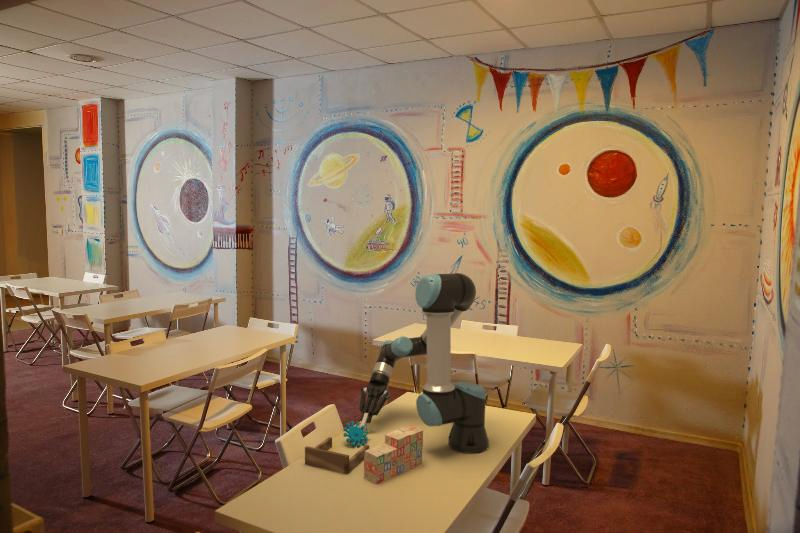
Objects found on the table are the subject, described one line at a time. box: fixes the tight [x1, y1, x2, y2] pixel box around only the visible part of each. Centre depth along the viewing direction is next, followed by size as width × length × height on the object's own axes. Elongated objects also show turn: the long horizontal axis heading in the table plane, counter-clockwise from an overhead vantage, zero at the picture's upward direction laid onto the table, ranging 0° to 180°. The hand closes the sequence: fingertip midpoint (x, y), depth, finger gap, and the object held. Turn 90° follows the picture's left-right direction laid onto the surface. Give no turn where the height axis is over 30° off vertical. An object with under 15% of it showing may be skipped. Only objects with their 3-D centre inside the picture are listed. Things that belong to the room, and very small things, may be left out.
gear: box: [342, 420, 370, 448], centre depth 201 cm, size 11×6×10 cm
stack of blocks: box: [363, 425, 424, 485], centre depth 179 cm, size 21×6×12 cm, turn 135°
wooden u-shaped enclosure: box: [304, 436, 370, 475], centre depth 186 cm, size 16×16×6 cm
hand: (362, 430), depth 207 cm, fingers closed
